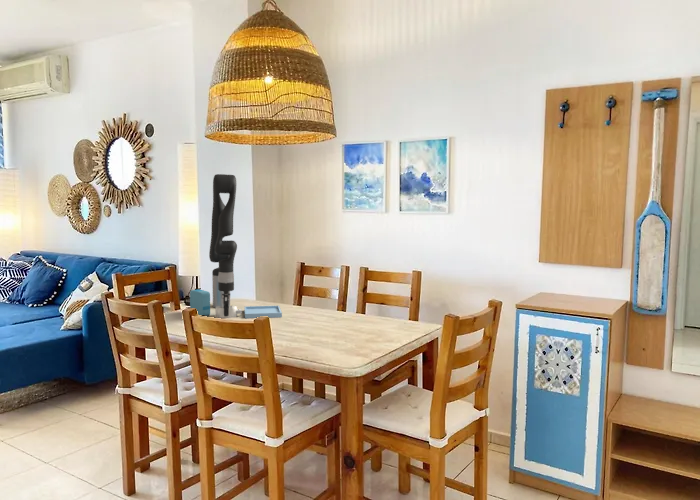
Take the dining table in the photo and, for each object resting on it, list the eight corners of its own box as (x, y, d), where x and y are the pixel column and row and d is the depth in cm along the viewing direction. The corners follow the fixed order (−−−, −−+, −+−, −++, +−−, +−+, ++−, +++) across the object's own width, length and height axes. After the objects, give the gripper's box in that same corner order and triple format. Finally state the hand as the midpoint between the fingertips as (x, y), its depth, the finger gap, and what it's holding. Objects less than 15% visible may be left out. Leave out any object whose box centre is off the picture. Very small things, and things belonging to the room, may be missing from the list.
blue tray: (244, 310, 284) (244, 306, 283) (279, 309, 287) (279, 305, 287) (245, 318, 266) (245, 313, 266) (281, 317, 270) (281, 312, 269)
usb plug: (215, 318, 266) (215, 307, 265) (215, 316, 270) (215, 306, 270) (241, 317, 268) (241, 307, 268) (241, 315, 273) (241, 305, 272)
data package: (210, 315, 271) (210, 292, 269) (202, 317, 267) (202, 293, 266) (198, 311, 279) (197, 288, 278) (190, 313, 276) (189, 289, 275)
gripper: (218, 278, 273) (219, 312, 275) (217, 283, 260) (218, 318, 261) (234, 278, 275) (234, 311, 277) (233, 283, 261) (234, 317, 263)
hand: (226, 314), depth 269 cm, fingers open, 4 cm apart
